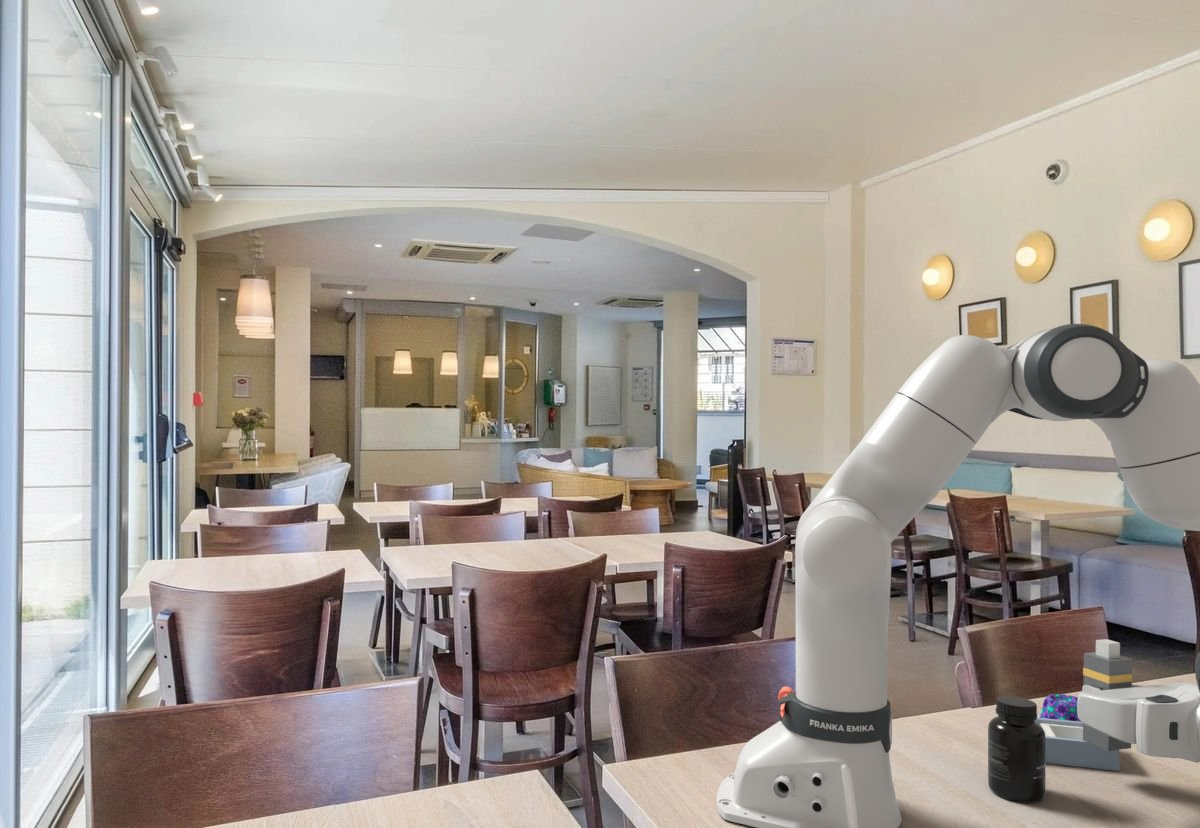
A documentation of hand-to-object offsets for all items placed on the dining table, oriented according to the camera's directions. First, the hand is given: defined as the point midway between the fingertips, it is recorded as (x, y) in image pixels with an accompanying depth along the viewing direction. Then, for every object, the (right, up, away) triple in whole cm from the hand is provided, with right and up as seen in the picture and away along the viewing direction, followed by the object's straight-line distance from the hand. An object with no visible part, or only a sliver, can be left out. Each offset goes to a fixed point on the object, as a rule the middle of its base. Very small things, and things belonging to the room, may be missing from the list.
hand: (1101, 688), depth 116 cm
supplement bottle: (-14, -12, -5) cm, 19 cm away
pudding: (+5, -13, +18) cm, 23 cm away
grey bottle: (0, -7, -1) cm, 7 cm away
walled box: (-2, -12, +8) cm, 15 cm away
